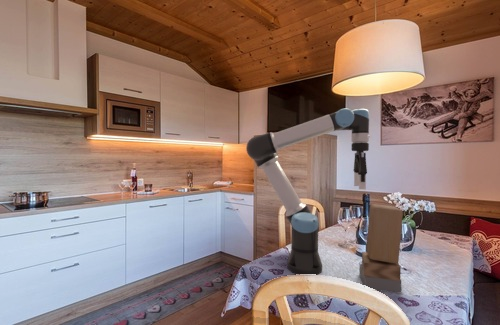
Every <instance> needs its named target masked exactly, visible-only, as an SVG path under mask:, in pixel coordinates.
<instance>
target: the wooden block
mask: <svg viewBox="0 0 500 325" xmlns="http://www.w3.org/2000/svg"><path fill="white" fill-rule="evenodd" d="M368 212H369V214H368V221H367V222H368V223H367V224H368V225H367V235H366V244H365V246H366V247H365V252H367V254H368V256H369V258H370V259H372V260H377V261H383V262H389V263H394V264H396V263H399V260H400V251H401V250H400V248H401V239H402V238H401V237H402V236H401V235H402V227H403V217H404V215H403V213H404V212H403V210H402V209H400V208H398V207H396V206H394V205H384V204H383V205H382V204H377V203H372V204H370V205H369V211H368Z"/></svg>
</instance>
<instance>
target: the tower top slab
mask: <svg viewBox="0 0 500 325" xmlns="http://www.w3.org/2000/svg"><path fill="white" fill-rule="evenodd" d="M361 264H362V267H363V272H364V276H369V277H376V278H383V279H389V280H396V281H400V279H401V270H402V269H401V266H400V264H399V262H398V263H396V264H394V263H389V262H383V261H377V260H372V259H370V258H369V256H368V254H367V252H366V251H362V252H361Z"/></svg>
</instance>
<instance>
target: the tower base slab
mask: <svg viewBox="0 0 500 325" xmlns="http://www.w3.org/2000/svg"><path fill="white" fill-rule="evenodd" d="M359 278H360V279H361V282H362V284H363V286H364V285H366V286H368V287H370V288H373V289H376V290H375V291H377V292H378V291H379V292H387V291H388V293H397V292H401V293H402V279H401V278H400V281H396V280H389V279H383V278H376V277H369V276H364V272H363V267H362V263H359ZM381 290H382V291H381Z"/></svg>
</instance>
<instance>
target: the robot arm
mask: <svg viewBox="0 0 500 325" xmlns="http://www.w3.org/2000/svg"><path fill="white" fill-rule="evenodd" d="M335 131H351V151H353V152H355V153H354V159H353V160H354V162H353V172H354V173H353V179H354V180H353V186H354V187H358V190H366V189H367V188H366V187H367V186H366V184H367V174H368V169H367V168H368V167H367V157H366V152H367V151H369V150H370V149H369V148H370V147H369V146H370V143H369V140H370V138H371V135H369V134H370V132H369V131H370V113H369V110H368V109H366V108H359V109H356V108H355V109H353V110H351V109H350V108H346V107H345V108H340V109H338V110H337V111H335V112H332V113H330V114H326V115H323V116H320V117H317V118H315V119H311V120H308V121H305V122H303V123H301V124H297V125H295V126H292V127H288V128H286V129H283V130H279V131H278V132H274V133H273V132H271V131H270V132H267V133H264V134H260V135H255V136H252V137H251V138H250V139H249V140H248V141H247V143H246V150H245V151H246V153H247V155H248V156H249V158H251V159H252V160H253V161H254V162H255V164H256V167H258V169H261V170H263V172H264V174H265V176H266V178H267V179H268V182H269V183H270V185H271V186H272V189H273V190H274V191H275V193H276V195H277V197H278V198H279V200H280V202H281V203H282V206H283V207H284V209H285V211H286V212H285V218H286V219H287V220H288V223H289V224H290V226H291V227H290V228H291V233H290V234H291V235H290V236H291V237H290V239H291V241H290V245H291V249H290V253H289V255H288V257H287V258H288V259H287V261H286V264H287V266H286V267H287V269H288V270H289V271H290V272H292V273H294V274H297V275H300V274H316V275H318V274H320V273H322V271H323V263H322V258H321V257H320V254H319V226H320V223H319V222H320V221H319V219H318V216H317V215H315V214H313V213H312V211H311V210H310V208H309V206H308V205H307V204H306V203H304V202H302V201H301V199H300V197H299V195H298V194H297V191H296V190H295V189H294V187H293V185H292V184H291V181H290V179H289V178H288V177H287V175H286V173H285V171H284V169H283V167H282V166H281V164H280V162H279V155H278V152H279V150H282V149H285V148H287V147H291V146H294V145H297V144H300V143H302V142H306V141H308V140H312V139H313V138H314V139H315V138H318V137H320V136H323V135H325V134H330V133H332V132H335Z"/></svg>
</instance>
